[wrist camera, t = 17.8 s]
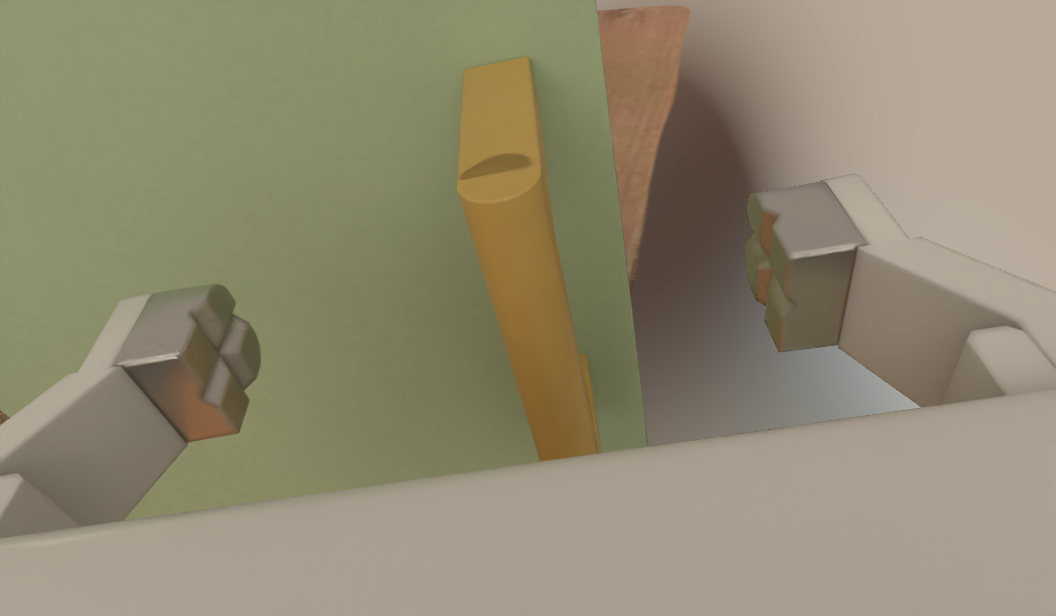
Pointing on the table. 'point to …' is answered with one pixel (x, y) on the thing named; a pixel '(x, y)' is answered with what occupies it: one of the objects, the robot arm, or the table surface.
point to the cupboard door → (328, 226)
